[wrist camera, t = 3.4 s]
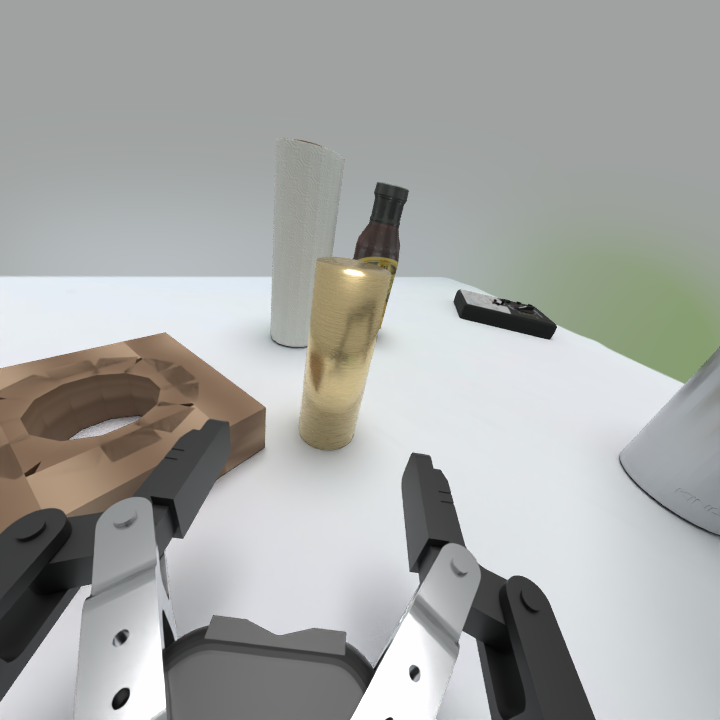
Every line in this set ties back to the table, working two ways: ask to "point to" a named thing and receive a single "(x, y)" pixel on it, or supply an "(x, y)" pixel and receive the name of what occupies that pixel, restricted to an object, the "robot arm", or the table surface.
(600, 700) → the table surface
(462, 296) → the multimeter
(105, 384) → the jig
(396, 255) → the sauce bottle
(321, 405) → the yellow cylinder peg
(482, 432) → the table surface
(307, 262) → the paper towel roll
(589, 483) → the table surface
